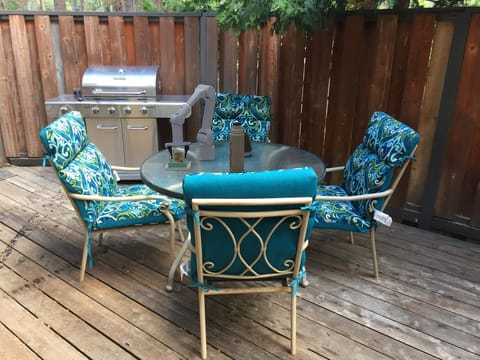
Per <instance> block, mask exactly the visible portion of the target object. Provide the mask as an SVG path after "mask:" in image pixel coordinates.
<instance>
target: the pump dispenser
mask: <svg viewBox="0 0 480 360" xmlns="http://www.w3.org/2000/svg"><path fill="white" fill-rule="evenodd" d="M243 133H244V158H248V157H249V156H250V155H251V154H252V151H253V144H252V140H251V136H250V134H249V133H248V132H246V131H243Z"/></svg>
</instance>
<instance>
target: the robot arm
mask: <svg viewBox="0 0 480 360" xmlns="http://www.w3.org/2000/svg"><path fill="white" fill-rule="evenodd" d="M215 95H216V89H215V88H214V86H212V85H207V84H202V83H200V84H198V85H197V87H196V88H194V92H193V93H192V95H191V96H190V98H189V99H188V100H187V101H186V103H183V104H181V105H180V107H179V108H178V109H177V111H175V113H173V114H171V116H170V119H169V123H170V124H171V128H172V132H171V133H172V142H167V143H164V147H165V148H167V150H168V152H169V154H170V155H169V156H170V157H171V158H170V159H172V160H174V157H173V148H174V147H175V148H176V147H184V149H183V150H184V160H185V159H187V155H188V151H189V149H190V147H191V146H192V144H191V143H192V142H191V141H184V137H183V136H184V135H183V124H184V123H185V119H186V117H187V116H188V115H189V114H190V113H191V111H192V107H194V105H195V104H196V103H197V102H198V101H199V100H200V99H203V100H204V101H205V102H206V103H205V102H204V103H205V107H204V110H203V116H202V117H203V118H202V124H201V128H200V129H199V130H198V133H197V135H196V141H197V142H198V147H199V148H198V149H199V153H198V154H199V155H198V161H214V160H215V157H216V153H215V144H213V143H214V141H215V140H214V139H215V137H214V132H213V129H212V130H211V125H212V126H213V119H214V118H213V117H214V114H213V112H214V106H215V102H216V96H215ZM214 113H215V112H214Z"/></svg>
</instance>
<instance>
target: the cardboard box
mask: <svg viewBox="0 0 480 360" xmlns="http://www.w3.org/2000/svg"><path fill="white" fill-rule="evenodd" d="M173 155H174V157H173V160H174V161H175V163H183V161H184V154H183V152H181V151H180V152H179V151H178V152H173Z"/></svg>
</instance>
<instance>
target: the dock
mask: <svg viewBox="0 0 480 360" xmlns="http://www.w3.org/2000/svg"><path fill="white" fill-rule="evenodd" d="M191 166H192V160H188V158H186V159H185V158H184V160H183V163H175V160H174V161H173V159H171V158H170V159H169V160H167V161H166V164H165V167H164V171H190V170H191V168H192V167H191Z"/></svg>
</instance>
